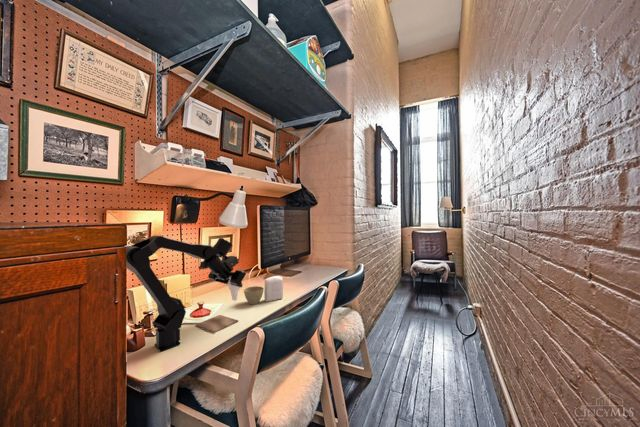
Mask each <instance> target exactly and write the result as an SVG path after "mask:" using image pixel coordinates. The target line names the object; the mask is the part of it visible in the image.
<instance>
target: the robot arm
mask: <svg viewBox="0 0 640 427" xmlns="http://www.w3.org/2000/svg"><path fill="white" fill-rule="evenodd" d="M125 246H126V245H125ZM232 248H233V244H232V242H229V241H228V240H227V239H224V237H220V238H218V240H217V242H216V243H215V244H214V245H213V246H212V245H210V244H209V245H208V244H199V243H198V244H197V243H188V242H185V241H179V240H176V239H173V238H169V237H164V236H162V235H156V234H155V235H152V236H150V237H148V238H145V239H143V240H141V241H138V242H135V243H133V244H131V245H127V246H126V267H125V269H127V270H129V271H130V272H132V273H133V274H134V275H135V276H136V278H137V279H138V280H139V282H140V283H141V284H142V286H143V287H144V289H145V290H146V291H147V293H148V294H149V296H150V297H151V298H152V300H153V301H154V302H155V304H156V307H157V310H156V311H157V313H158V315H157V316H156V317H155V319H153V321H152V326H153V328H154V329H155V343H154V347H155V348H156V349H157V350H158V351H159V352H164V351H165V350H169V349H171V348H174V347H177V346H180V345H181V342H180V341H181V329H180V328H181V327H182V324H183V321H184V318H185V316H186V314H187V311H186V306H185V305H184V304H183V302H182V300H181V298H177V297H174V296H170V294H169V292H168V291H167V289H166V288H165V287H164V285H163V284H162V283H161V281H160V279H159V278H158V276H157V275H156V273H155V271H153V269H152V267H151V259H150V257H151V256H153V255H154V254H155V253H157V252H158V251H159V250H160V249H165V250H169V251H175V252H180V253H184V254H186V255H187V256H190V257H192V258H195V259H199V260H202V261H200V264H199V268H200V269H207V268H208V269H209V270H210V272H209V274H208V276H207V277H208V279H209V280H210V281H214V282H217V283H220V284H224V285H228V281H229V279H230V278H231V279H230V282H231V285H234V286H238V287H240V288H243V282H242V281H244V278H245V277H246V275H247V273H246V271H245V270H241V269H236V270H235V271H234V272H233V270H234V269H235V268H234V267H235V266H237V265H238V264H239V263H240V262H239V259H238V257H237V256H236V255H235V256H234V255H228V256H227V254H228V253H229V251H231V249H232Z"/></svg>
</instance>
